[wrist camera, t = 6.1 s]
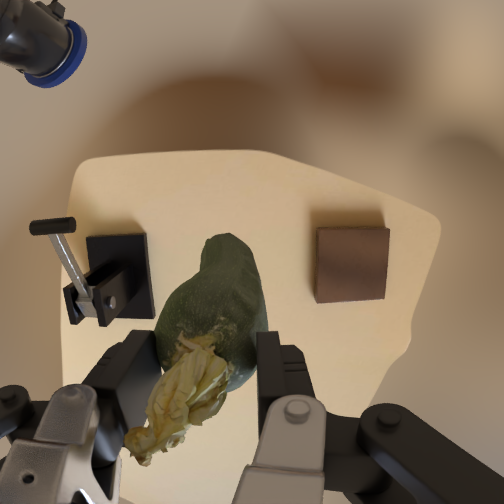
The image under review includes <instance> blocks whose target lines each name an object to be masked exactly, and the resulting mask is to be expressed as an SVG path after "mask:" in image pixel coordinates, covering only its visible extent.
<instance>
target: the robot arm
mask: <svg viewBox="0 0 504 504" xmlns="http://www.w3.org/2000/svg"><path fill="white" fill-rule="evenodd" d="M64 12H65V7H63V6H62V5H61V4H60V3H59V2H57V0H53V1H52V2H51V4H49V5H47V6H46V5H45V4H43V3H42V2H41V1H37V2H35V3H33V2H32V1H30V0H0V63H2V64H4V65H7V66H10V67H12V68H15V69H16V70H18V71H19V72H20V73H23V72H26V73H28V74H30V75H32V76H34V77H36V78H45V77H48V76H50V75H52V74H54V73H55V72H57V71H58V70H59V69H60V68H61V67H62V66H63V65H64V64H65V62H66V61H67V60H68V58H69V56H70V54H71V52H72V50H73V46H74V33H73V31H72V30H71V29H70V28H69V25H70V23H69V22H67V21H66V20H65V19H63V17H64ZM21 71H23V72H21ZM256 351H257V400H258V435H259V443H258V446H257V449H256V452H255V456H254V459H253V462H252V464H251V465H249V464H247V465H246V466H245V468H244V470H243V473H242V475H241V478H240V481H239V484H238V487H237V490H236V492H235V495H234V498H233V501H232V504H322V502H323V491H324V490H330V491H339V492H343V494H344V495H345V496H346V498H347V499H348V500H349V501H350V502H351V503H352V504H504V477H502V476H501V475H499V474H498V473H496V472H495V471H493V470H492V469H490V468H489V467H487V466H486V465H485V464H483V463H481V462H480V461H479V460H477V459H476V458H475V457H473V456H472V455H470V454H469V453H467V452H466V451H465V450H463V449H461V448H460V447H459V446H458V445H456V444H455V443H453V442H452V441H451V440H449V439H448V438H446V437H445V436H444V435H442V434H441V433H439V432H438V431H437V430H435V429H434V428H433V427H431V426H430V425H428V424H427V423H426V422H424V421H423V420H422V419H420V418H419V417H417V416H416V415H414V414H413V413H412V412H410V411H409V410H408V409H406V408H405V407H402V406H400V405H397V404H390V403H382V404H377V405H373V406H371V407H369V408H367V409H366V410H365V411H364V412H363V413H362V415H361V417H360V418H354V417H344V416H338V415H334V414H332V413H329V412H327V411H326V408H325V406H324V405H323V404H322V403H321V402H320V401H319V400H317V399H316V397H315V393H314V390H313V386H312V383H311V379H310V376H309V372H308V369H307V365H306V363H305V358H304V355H303V352H302V351H301V350H300V349H299V348H297V347H296V346H295V345H280V340H279V334H278V331H263V332H256ZM161 376H162V372H161V365H160V362H159V359H158V356H157V351H156V336H155V333H154V331H152V330H132V331H131V332H130V333H129V334H128V336H127V337H126V339H125V340H124V341H123V343H122V342H118V343H117V344H115V345H113V346H112V347H110V348H108V349H107V351H106V352H105V353H104V355H103V356H102V358H100V360H99V361H98V362H97V365H95V366H94V367H93V369H92V370H91V371H90V373H89V374H88V375H87V377H86V378H85V379H84V381H83V382H82V383H81V384H71V385H67V386H64V387H62V388H60V389H58V390H57V391H56V392H55V393H54V394H53V395H52V397H51V399H50V401H31V399H30V397H29V394H28V391H27V390H26V389H25V388H24V387H22V386H19V385H8V386H5V387H2V388H0V439H1V438H2V437H4V436H6V437H7V438H8V440H9V442H10V444H11V445H12V446H11V448H10V451H9V453H8V455H7V456H5V457H4V458H3V459H1V460H0V504H118V503H119V489H120V477H121V467H122V460H121V457H120V455H119V452H120V450H121V448H122V447H125V444H124V443H123V440H124V438H123V437H124V436H125V435H126V434H127V433H128V431H129V429H131V428H133V427H138V426H144V424H145V422H146V419H147V414H146V413H145V410H146V409H145V408H146V407H147V406H148V399H149V397H150V395H151V392H152V390H153V388H154V386H155V384H156V383H157V382H158V380H159V378H160V377H161Z"/></svg>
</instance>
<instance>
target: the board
mask: <svg viewBox="0 0 504 504" xmlns="http://www.w3.org/2000/svg"><path fill="white" fill-rule="evenodd" d="M389 238H390V229H389V228H386V227H347V228H317V238H316V282H315V301H316V303H317V304H318V303H335V302H351V301H365V300H379V299H384V298H385V289H386V279H387V267H388V254H389Z"/></svg>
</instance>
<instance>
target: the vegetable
mask: <svg viewBox="0 0 504 504" xmlns="http://www.w3.org/2000/svg"><path fill="white" fill-rule="evenodd" d="M263 331H268V320H267V312H266V306H265V300H264V295H263V291H262V286H261V280H260V276H259V273H258V270H257V267H256V263H255V260H254V257H253V253H252V251H251V249H250V248H249V247H248V246H247V245H246V244H245V243H244V242H243V241H241V240H240V239H239V238H237V237H236V236H234V235H233V234H231V233H225V234H218V235H215V236H213V237H212V238H211V239H207V240H206V242H205V246H204V248H203V250H202V253H201V263H200V271H199V272H198V273H197V274H195V275H194V276H193V277H192V278H191V279H189V280H187V281H186V282H184V283H183V284H181V285H180V286H179V287H178V288H177V289H176V290H175V291H174V292H173V293H172V294H171V295H170V297H169V298H168V300H167V301H166V303H165V306H164V308H163V310H162V312H161V314H160V316H159V319H158V321H157V324H156V327H155V330H154V333H155V336H156V351H157V356H158V359H159V362H160V365H161V367H162V369H163V370H164V372H165V373H164V374H163V375H162V376H161V377H160V378H159V380H158V382H157V383H156V384H155V386H154V388H153V390H152V392H151V395H150V397H149V399H148V406H147V407H146V408H145V409H146V410H145V413H146V414H147V418H148V422H149V425H148V427H147V428H146V427H145V428H144V426H138V427H133V428H131V429H129V431H128V433H127V434H126V435H125V436H124V437H123V438H124V440H123V443H124V444H125V447H126V448H127V449H128V450H129V451H130V452H131V453H130V458H131V457H132V456H135V458H136V460H137V462H138V463H139V464H140V465H142V466H146V467H147V466H148V465H150V464H151V462H150V461H151V458H152V454H154V453H157V452H159V451H162V452H163V453H164V452H168V451H167V448H174V447H176V446H177V445H178V444H179V443H183V442H184V439H185V437H184V434H185V433H186V431H187V430H188V429H189V428H190V427H191V426H192V425H198V426H202V422H203V421H204V420H206V419H209V418H212V416H214V415H216V414H217V413H218V412H219V410H220V408H221V407H222V405H223V403H224V401H225V399H226V396H227V392H230V391H233V390H235V389H237V388H239V387H240V386H242V385H243V384H244V383H245V382H246V381H247V380H248V379H249V378H250V377H251V376H252V375H253V374H254V372H255V371H256V369H257V351H256V332H263Z"/></svg>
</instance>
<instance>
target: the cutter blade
mask: <svg viewBox="0 0 504 504" xmlns="http://www.w3.org/2000/svg"><path fill="white" fill-rule="evenodd" d="M29 230H30V233H31V234H32V235H48V236H49V238H50V240H51V242H52V244H53V246H54V248H55V250H56V252H57V254H58V256H59V258H60V260H61V262H62V264H63V266H64V267H65V269H66V271H67V273H68V275H69V277H70V278H71V280H72V282H73V284H74V286H75V287H76V289H77V291H78V293H79V294H78V297H77V299H76V304H77V305H78V307H79V308H80V310H81V312H82V313H83V315H84V316H85V317H96V318H97V313H96V308H95V303H94V298H93V292H92V289H93V288H94V287H95V286H89V285H88V283H87V281H86V280H85V278H84V276H83V274H82V272H81V270H80V268H79V266H78V264H77V262H76V260H75V258H74V256H73V254H72V252H71V250H70V248H69V245H68V243H67V241H66V239H65V237H64V235H63V233H73V232H75V230H76V220H75V218H74V217H65V218H54V219H45V220H36V221H32V222H31V223H30V226H29Z"/></svg>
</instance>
